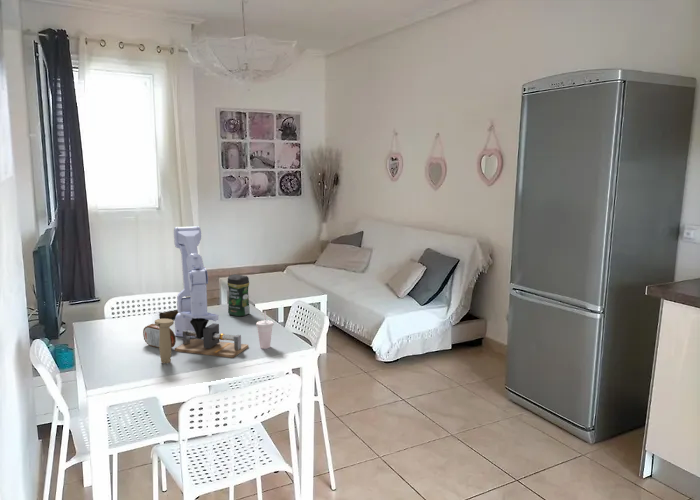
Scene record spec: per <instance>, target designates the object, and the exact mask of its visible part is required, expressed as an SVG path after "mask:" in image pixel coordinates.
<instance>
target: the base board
mask: <svg viewBox="0 0 700 500" xmlns="http://www.w3.org/2000/svg"><path fill="white" fill-rule="evenodd" d="M246 349H249V344H245V343H241V349H240V350H238V351H236V350H234V342H225V341H219V343H217V344H216V345H214V346H213V347H211V348H204V343H203V339H202V338H201V339H197V338H190V343H189V344H187V345H183V343H181V344H180V345H179V346H176V347H175V348H174V352H179V353H180V352H181V353H187V354H196V355H197V354H198V355H205V356H213V357H214V356H215V357H222V358H231V359H234V358H235V357H236V356H238V355H239V354H241V353H242V352H244V351H245V350H246Z"/></svg>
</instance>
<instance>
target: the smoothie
mask: <svg viewBox="0 0 700 500" xmlns="http://www.w3.org/2000/svg"><path fill="white" fill-rule="evenodd" d="M263 312H264V319H263V320H262V319H261V320H259V321H257V322H256V328H257V333H258V341H259V348H260V349H263V350H264V349H265V350H267V349H270V348H271V345H272V343H271V342H272V335H273V334H272V333H273V326H274V321H272V320H269V319H267V311H263Z"/></svg>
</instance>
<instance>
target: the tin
mask: <svg viewBox="0 0 700 500" xmlns="http://www.w3.org/2000/svg"><path fill="white" fill-rule="evenodd" d="M142 335H143V340H144V341H145V343H146V345H148V346H149V347H153V348H158V349H159V327H158V326H156V325H155V323H151V324H148V325H146V326H145V327H144V328H143V330H142ZM170 339H171V349H172V348H173V347H174V346H175V345H176V341H177V339H176V336H175V333H174V330H172V329H171V328H170Z"/></svg>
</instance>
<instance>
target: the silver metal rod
mask: <svg viewBox="0 0 700 500" xmlns="http://www.w3.org/2000/svg"><path fill="white" fill-rule="evenodd" d="M190 336H194V337H195V338H197V335H196V332H195V331H190V330H187V329H186V330H184V331H183V337H182V344H183V345H187V344H189V343H190V340H191V337H190ZM212 339H219V341H233V343H234V350H236V351H238V350H240V349H241V344H242V335H241V334H236V335H234V334H225V333H219V334H217V333H212Z"/></svg>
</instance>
